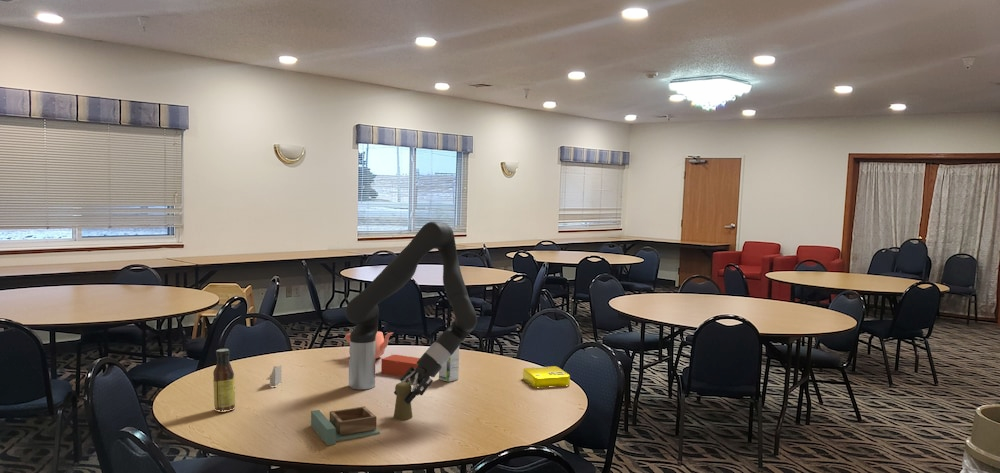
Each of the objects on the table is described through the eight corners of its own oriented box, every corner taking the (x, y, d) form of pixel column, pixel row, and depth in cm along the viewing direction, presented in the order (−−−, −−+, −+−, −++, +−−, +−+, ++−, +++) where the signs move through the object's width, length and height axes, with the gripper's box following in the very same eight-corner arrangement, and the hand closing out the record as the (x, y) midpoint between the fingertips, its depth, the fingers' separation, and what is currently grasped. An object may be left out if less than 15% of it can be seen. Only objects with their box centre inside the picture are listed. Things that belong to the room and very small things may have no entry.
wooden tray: (329, 423, 197) (329, 411, 197) (364, 418, 202) (364, 406, 202) (340, 435, 187) (340, 422, 187) (376, 429, 193) (376, 416, 193)
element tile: (556, 376, 260) (556, 364, 259) (571, 386, 245) (571, 374, 245) (521, 378, 255) (521, 366, 255) (534, 389, 241) (534, 377, 241)
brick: (431, 374, 259) (431, 359, 259) (419, 379, 251) (419, 364, 250) (393, 368, 267) (393, 354, 266) (380, 373, 258) (381, 358, 258)
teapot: (343, 357, 282) (343, 327, 281) (375, 352, 292) (376, 323, 291) (360, 365, 269) (360, 334, 268) (393, 360, 279) (394, 330, 278)
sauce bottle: (239, 408, 212) (239, 348, 211) (225, 414, 206) (225, 353, 205) (223, 406, 214) (222, 346, 213) (209, 411, 208) (208, 351, 207)
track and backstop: (311, 425, 198) (311, 410, 197) (362, 417, 206) (362, 403, 206) (327, 445, 182) (327, 429, 182) (382, 435, 190) (382, 420, 190)
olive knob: (394, 413, 210) (394, 380, 209) (413, 413, 210) (413, 380, 210) (392, 420, 204) (393, 385, 203) (412, 420, 204) (412, 385, 204)
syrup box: (438, 379, 251) (438, 342, 250) (449, 376, 255) (449, 340, 254) (448, 382, 247) (448, 344, 246) (459, 379, 251) (459, 342, 250)
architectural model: (265, 388, 236) (265, 368, 236) (273, 383, 243) (273, 363, 243) (275, 389, 236) (275, 369, 235) (282, 383, 243) (282, 364, 242)
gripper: (418, 347, 216) (385, 385, 211) (435, 357, 204) (401, 397, 199) (432, 361, 219) (400, 399, 214) (450, 371, 207) (417, 412, 202)
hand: (400, 398), depth 206 cm, fingers open, 8 cm apart
